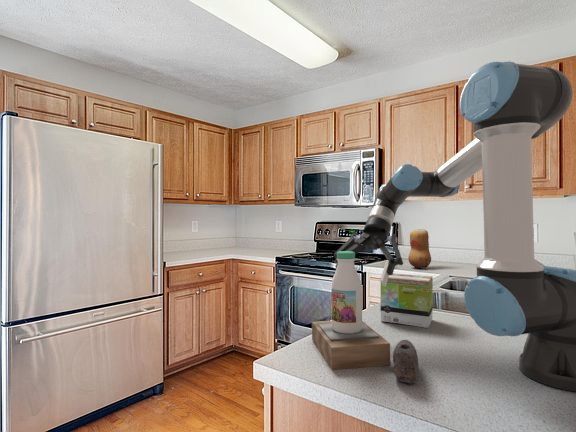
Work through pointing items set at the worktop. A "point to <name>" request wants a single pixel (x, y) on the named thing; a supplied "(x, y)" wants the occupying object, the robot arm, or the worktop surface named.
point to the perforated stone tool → (405, 362)
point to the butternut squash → (419, 249)
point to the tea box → (407, 300)
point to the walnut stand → (350, 346)
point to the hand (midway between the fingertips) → (358, 281)
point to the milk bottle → (346, 295)
